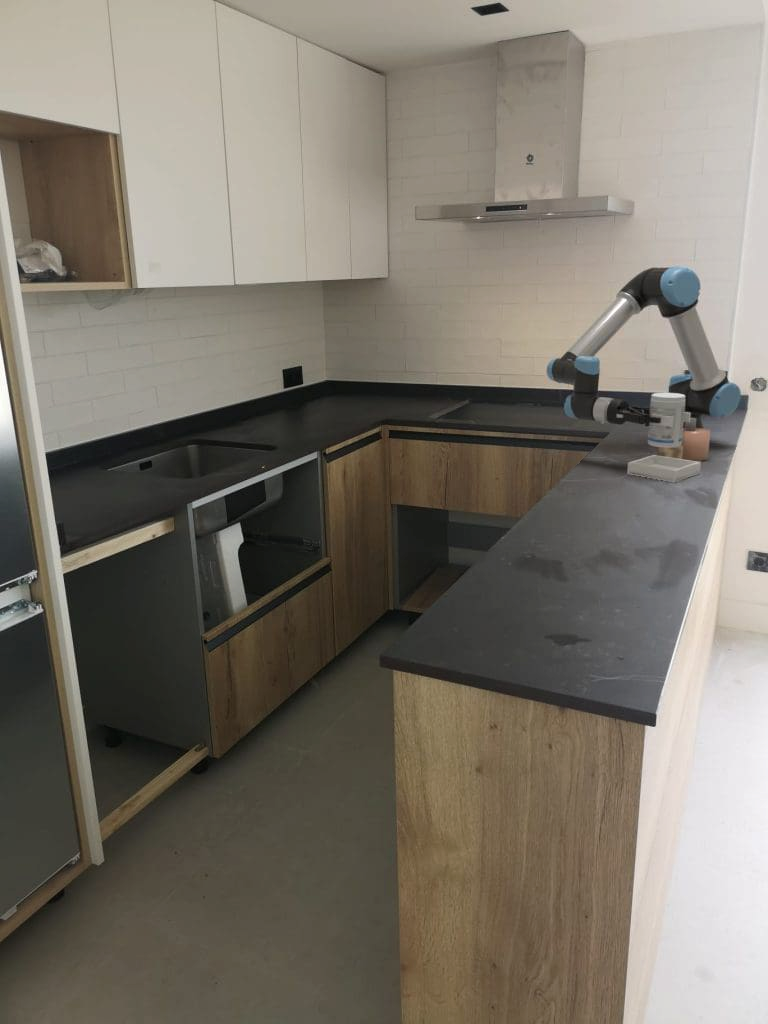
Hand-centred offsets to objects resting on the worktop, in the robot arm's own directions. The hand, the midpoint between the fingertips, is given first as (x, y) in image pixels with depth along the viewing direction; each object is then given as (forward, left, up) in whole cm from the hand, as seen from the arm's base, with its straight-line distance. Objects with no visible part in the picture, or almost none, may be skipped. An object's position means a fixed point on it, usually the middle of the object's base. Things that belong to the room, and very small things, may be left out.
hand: (681, 419), depth 230 cm
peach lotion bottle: (-27, -8, -17) cm, 32 cm away
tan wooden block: (-15, -10, -17) cm, 24 cm away
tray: (-1, -4, -17) cm, 17 cm away
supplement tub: (0, -5, -8) cm, 9 cm away
